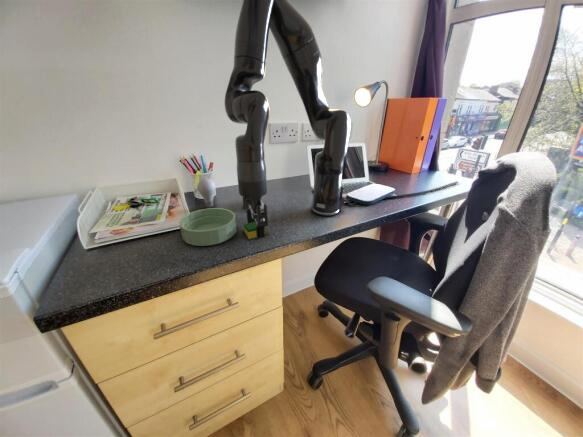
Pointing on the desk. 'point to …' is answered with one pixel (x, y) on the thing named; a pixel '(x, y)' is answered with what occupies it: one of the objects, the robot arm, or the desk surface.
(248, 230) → the sponge
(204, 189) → the lightbulb
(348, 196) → the external hard drive
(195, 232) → the bowl
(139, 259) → the desk surface
